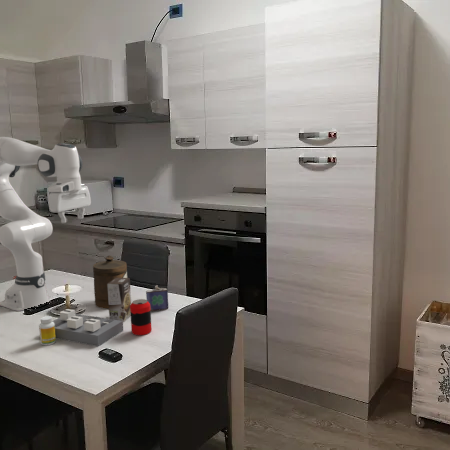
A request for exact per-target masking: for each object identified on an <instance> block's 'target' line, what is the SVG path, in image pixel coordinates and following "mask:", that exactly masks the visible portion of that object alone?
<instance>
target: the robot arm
mask: <svg viewBox="0 0 450 450" xmlns="http://www.w3.org/2000/svg"><path fill="white" fill-rule="evenodd" d="M33 165H36V166H37V169H38V171H39V173H40V174H41V175H42V176H43V177H45V178H56V181H55V182H54V183H52V184H51V185H49V186H48V187H47V191H48V206H49V210H50V212H51V213H57V215H58V216H59V218H60V223H61V224H66V223H68V218H67V217H66V216H65V214H66V211H67V212H68V211H70V210H76V209H78V210H79V211H78V214H77V220H78V219H79V220H81V219H84V214H85V210H86V208H87V207H90V206H91V204H92V198H91V193H90V190H89V188H88V185H87V184H86V183H82V178H81V174H80V172H81V171H82V170H83V165H84V163H83V159H82V157H81V156H80V154H79V151H78V149H77V146H76V145H75V144H72V143H64V142H62V143H56V144H55V145H54V147H53V148H52V149H49V148H45V147H43V146H42V147H41V146H39V145H36V144H32V143H29V142H27V141H24V140H20V139H17V138H14V137H9V136H0V217H1V218H2V219H4V220H7V221H10V222H7V223H6V224H3V225H2V226H0V244H1V245H2V246H3V247H5V248H6V249H8V250H9V251H10V253H11V255H13V258H14V262H15V268H16V275H15V276H13V277H12V279H13V280H14V283H13V284H12V285H11V286H10V287H9V288H8V289H6V291H5V293H4V299H3V300H2V301H1V302H0V306H1V307H4V308H7V309H9V310H12V311H16V312H19V311H20V312H21V311H25V310H24V309H27V308H31V307H34V306H38V305H40V304H44V303H46V302H49V301H50V302H51V300H50V299H51V297H50V296H49V293H48V288H47V284H46V282H45V281H46V275H45V271H44V263H43V256H42V255H41V254H40V253H39V252H37V251H34V249H33V247H32V244H35V243H37V242H38V243H39V242H40V241H41V242H42V241H44V240H45V239H47V238H49V237H50V236H51V235H52V234H53V231H54V230H53V223H52V222H51V221H50V219H49V218H47V217H44V216H42V215H39V214H38V213H36V212H35V211H34V210H32V209H30V208H29V206H27V205H26V204H25V202H23V200H22V199H21V197H20V196H19V194H18V193H17V192H16V189H14V187H13V186H12V184H11V182H10V178H14V177H15V176H16V174H17V173H18V171H19V170H20V168H21V166H22V167H25V166H33ZM27 310H28V309H27Z"/></svg>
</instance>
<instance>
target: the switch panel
mask: <svg viewBox="0 0 450 450" xmlns="http://www.w3.org/2000/svg"><path fill="white" fill-rule="evenodd" d="M75 316H78V317H83V325H82V326H80V327H78V328H77V329H75V328H69V327H68V326H67V321H65V320H60V317H58V318H56V319H52V322H54V324H55V334H56V340H62V341H69V342H74V343H79V344H84V345H89V346H94V347H100V346H102V345H103V344H105V343H107V342H108V341H110V340H111V339H113V338H115V337H116V336H118V335H119V334H121V333H122V332H124V322H123V321H119V320H113V319H110V318H105V317H99V316H93V315H87V314H80V313H75ZM90 319H97V320H100V326H101V328H99V329H98V330H96V331H94V332H92V331H86V330H85V326H84V322H86V321H88V320H90Z"/></svg>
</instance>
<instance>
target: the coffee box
mask: <svg viewBox="0 0 450 450" xmlns="http://www.w3.org/2000/svg"><path fill="white" fill-rule="evenodd" d="M107 285H108V303H109V309H108V314H109V315H108V317H109V318H108V319H113V320H119V321H123V323H124V322H126V321H127V320H128V319H129V318H131V314H130V305H131V304H132V294H131V293H132V291H131V279H130V277H127V278H115V279H114V280H112V281H111V282H109V283H108V284H107Z"/></svg>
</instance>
